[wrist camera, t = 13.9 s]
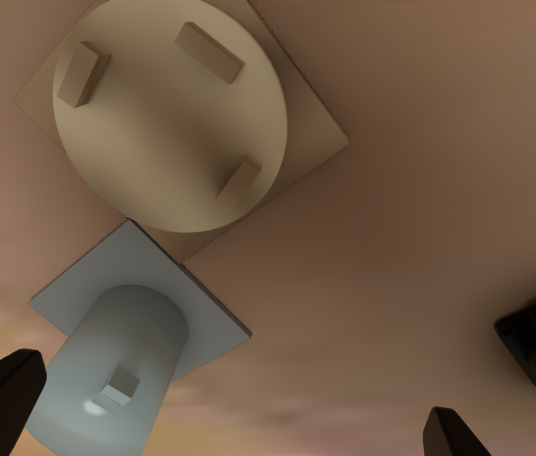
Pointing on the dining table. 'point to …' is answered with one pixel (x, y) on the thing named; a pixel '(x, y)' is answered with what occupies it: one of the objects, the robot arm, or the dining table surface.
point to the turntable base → (299, 122)
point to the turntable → (170, 112)
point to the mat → (148, 276)
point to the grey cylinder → (110, 375)
